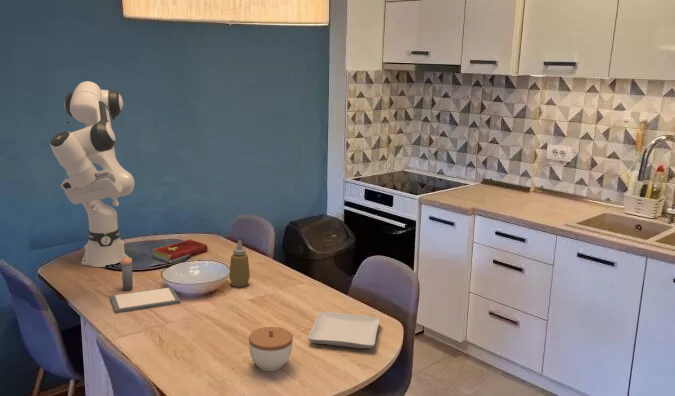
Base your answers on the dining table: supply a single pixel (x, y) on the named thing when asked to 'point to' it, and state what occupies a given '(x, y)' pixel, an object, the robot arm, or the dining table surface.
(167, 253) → the hardcover book
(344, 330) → the salad plate
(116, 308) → the writing board
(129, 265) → the marker
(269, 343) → the lidded bowl
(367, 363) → the dining table surface
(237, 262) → the squeeze bottle
